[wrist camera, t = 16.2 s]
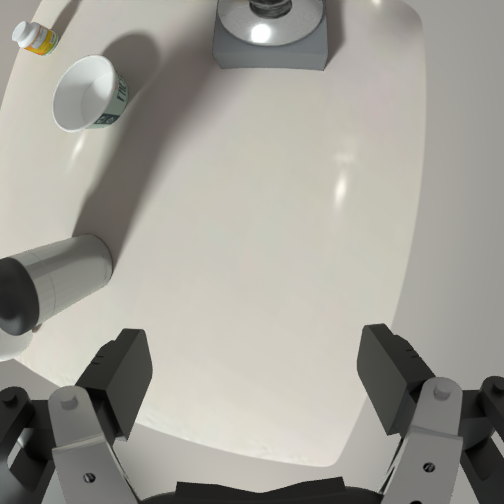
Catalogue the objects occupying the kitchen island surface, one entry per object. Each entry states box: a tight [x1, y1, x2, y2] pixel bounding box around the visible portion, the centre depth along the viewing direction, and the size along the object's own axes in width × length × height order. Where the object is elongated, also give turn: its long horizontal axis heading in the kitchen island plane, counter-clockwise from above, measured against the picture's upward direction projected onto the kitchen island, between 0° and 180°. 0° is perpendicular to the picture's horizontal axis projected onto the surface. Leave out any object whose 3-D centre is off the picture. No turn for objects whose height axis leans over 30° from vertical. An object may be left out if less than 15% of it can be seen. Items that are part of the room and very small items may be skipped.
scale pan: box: [218, 0, 323, 48], centre depth 29 cm, size 13×13×3 cm
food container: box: [52, 55, 128, 132], centre depth 36 cm, size 12×12×6 cm
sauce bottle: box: [0, 328, 33, 361], centre depth 41 cm, size 8×8×18 cm
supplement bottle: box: [12, 21, 59, 56], centre depth 33 cm, size 5×5×10 cm
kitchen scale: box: [212, 0, 328, 71], centre depth 31 cm, size 14×15×5 cm
